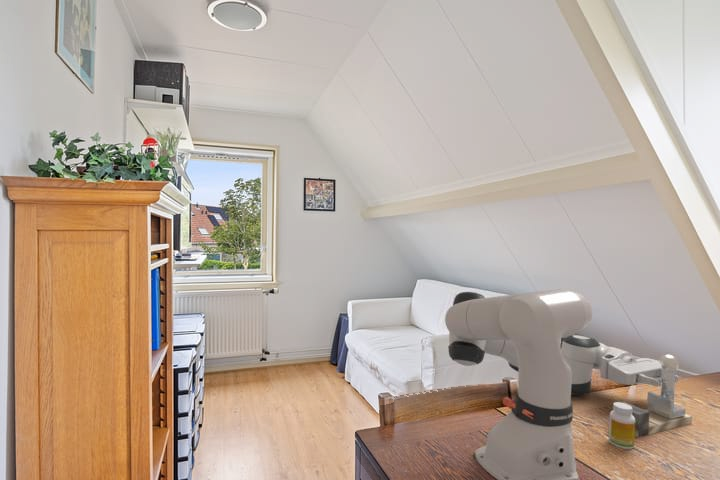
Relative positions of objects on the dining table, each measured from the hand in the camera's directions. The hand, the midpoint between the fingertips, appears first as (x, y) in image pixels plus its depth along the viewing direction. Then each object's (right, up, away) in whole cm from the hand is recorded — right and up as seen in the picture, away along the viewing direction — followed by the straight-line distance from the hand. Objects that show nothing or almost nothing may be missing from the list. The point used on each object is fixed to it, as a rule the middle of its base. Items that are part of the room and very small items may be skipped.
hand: (668, 381), depth 111 cm
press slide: (-1, -9, 0) cm, 9 cm away
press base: (-6, -11, -2) cm, 13 cm away
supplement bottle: (-21, -11, -12) cm, 27 cm away
